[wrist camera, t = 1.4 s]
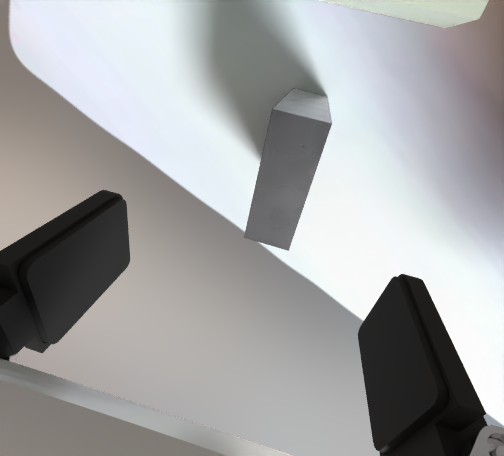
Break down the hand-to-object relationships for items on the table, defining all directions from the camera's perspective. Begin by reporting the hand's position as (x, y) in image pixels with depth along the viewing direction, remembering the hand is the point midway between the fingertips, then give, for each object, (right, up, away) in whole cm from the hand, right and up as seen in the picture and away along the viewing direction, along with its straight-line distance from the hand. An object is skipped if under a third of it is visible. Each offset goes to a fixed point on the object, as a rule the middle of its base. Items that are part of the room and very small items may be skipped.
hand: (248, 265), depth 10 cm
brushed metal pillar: (+4, +10, +16) cm, 19 cm away
